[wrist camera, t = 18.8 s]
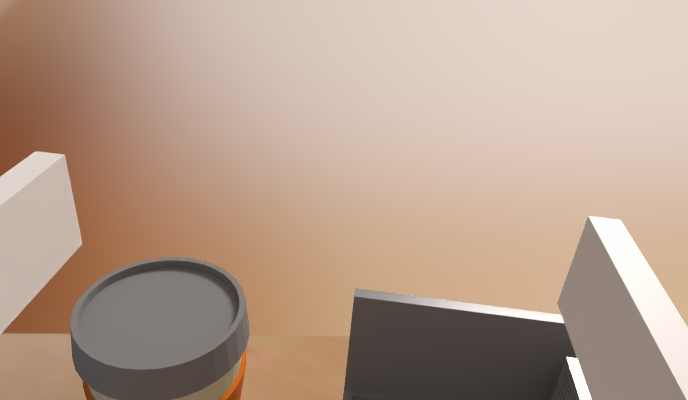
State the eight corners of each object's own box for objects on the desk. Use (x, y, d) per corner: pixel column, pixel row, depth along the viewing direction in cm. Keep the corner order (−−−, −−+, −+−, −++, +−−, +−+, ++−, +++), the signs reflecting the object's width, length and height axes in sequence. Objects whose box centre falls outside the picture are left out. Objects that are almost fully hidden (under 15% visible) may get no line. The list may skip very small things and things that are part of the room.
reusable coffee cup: (258, 494, 44) (259, 358, 36) (87, 528, 41) (50, 386, 33) (242, 373, 54) (240, 249, 47) (104, 393, 51) (79, 262, 44)
